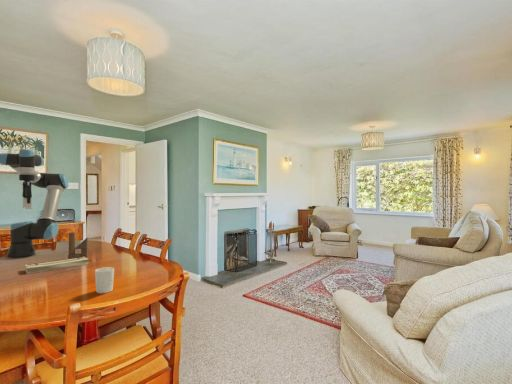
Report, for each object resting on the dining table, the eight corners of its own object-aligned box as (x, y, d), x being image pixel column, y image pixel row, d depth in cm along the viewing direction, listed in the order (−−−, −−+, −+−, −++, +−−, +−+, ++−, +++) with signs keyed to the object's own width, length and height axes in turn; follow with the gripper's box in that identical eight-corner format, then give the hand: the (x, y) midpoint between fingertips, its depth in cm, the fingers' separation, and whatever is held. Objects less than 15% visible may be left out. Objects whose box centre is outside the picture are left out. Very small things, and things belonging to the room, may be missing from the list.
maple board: (24, 270, 160) (24, 264, 160) (84, 261, 182) (84, 256, 182) (27, 274, 153) (27, 268, 153) (88, 264, 175) (88, 259, 175)
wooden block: (86, 259, 187) (87, 232, 187) (67, 260, 183) (67, 233, 183) (87, 257, 191) (87, 231, 190) (68, 259, 186) (69, 232, 186)
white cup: (99, 288, 133) (99, 267, 133) (116, 287, 134) (117, 266, 134) (91, 294, 125) (91, 271, 125) (109, 293, 126) (109, 271, 126)
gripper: (17, 174, 182) (17, 207, 182) (21, 173, 164) (21, 209, 165) (31, 174, 187) (31, 206, 188) (37, 174, 170) (37, 209, 170)
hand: (26, 208), depth 176 cm, fingers open, 13 cm apart
